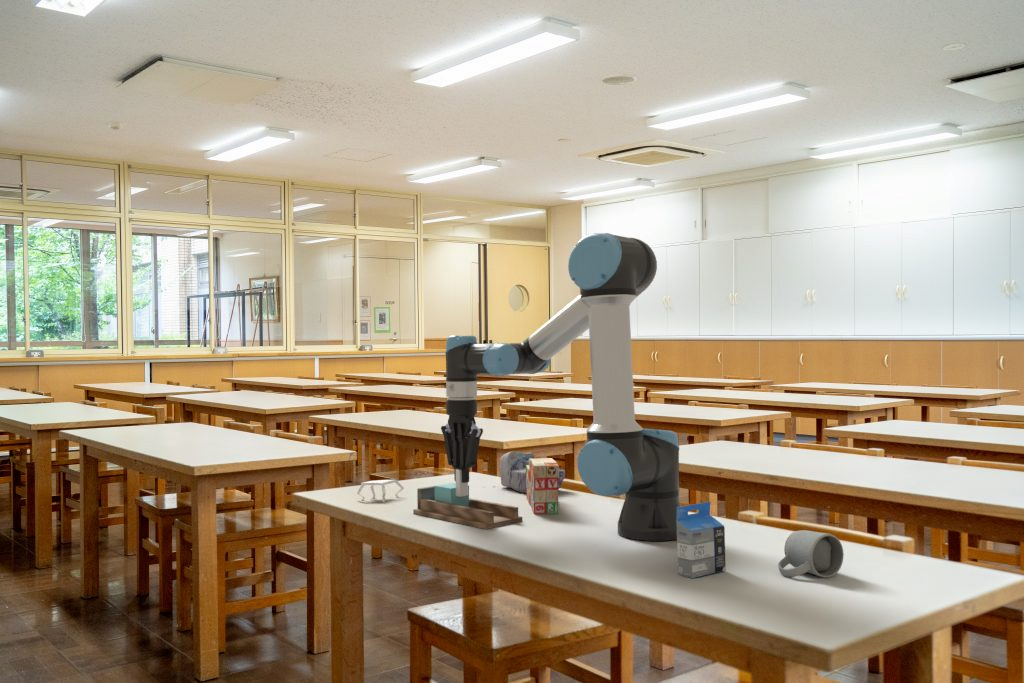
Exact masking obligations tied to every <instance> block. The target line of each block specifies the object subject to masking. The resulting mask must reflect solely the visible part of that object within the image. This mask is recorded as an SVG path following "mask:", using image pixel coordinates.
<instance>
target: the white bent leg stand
mask: <svg viewBox="0 0 1024 683" xmlns="http://www.w3.org/2000/svg"><path fill="white" fill-rule="evenodd" d="M393 483H394V484H396V486H398V487H399V488H400V489H399V490H398V491H397V492H396V493H394V496H395V497H396V498H400V496H398V494H399V493H400V492H402V491H403V490H404V489H405V487H403V485H402V484H401V483H400V482H399V481H398V479H378V480H369V481H364V482H360V487H359V488H358V491H357V492H356V494H357V495H359V497H362V498H361V501H364V500H365V498H366V497H365V496H364V495H362V494H360V493H361V491H362V490H363V488H364V487H365V486H370V491H371V493H372V495H373V496H372V499H375V498H376V493H375V489H374V486H381V492H382V494H381V495H382V503H384V502H385V501H386V487H385V485H390V484H393Z"/></svg>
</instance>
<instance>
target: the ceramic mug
mask: <svg viewBox="0 0 1024 683" xmlns="http://www.w3.org/2000/svg"><path fill="white" fill-rule="evenodd" d="M784 555H785V556H784V557H783V558H782V559H780V561H778V564H777V567H778V570H779V572H780V574H781V576H784V577H787V578H795V577H799V576H803V575H804V574H806V573H807V574H808V573H809V574H812V575H814V576H817V577H820V578H825V579H826V578H827V579H828V578H831V577H834V576H836V574H837V573H838V572H839V571H841V570H840V569H841V568H842V565H843V562H844V556H845V554H844V547H843V545H842V542H841V541H840V539H839V538H838V537H837V536H836V535H834V534H831V533H828V532H827V533H826V532H819V531H812V530H808V529H807V530H804V529H803V530H795V531H794V532H791V533H790V534H789V536H788V537H787V538H786V540H785V544H784ZM788 565H791V566H792V568H789V569H788V568H785V567H787V566H788Z"/></svg>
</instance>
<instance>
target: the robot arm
mask: <svg viewBox="0 0 1024 683" xmlns="http://www.w3.org/2000/svg"><path fill="white" fill-rule="evenodd" d="M567 264H568V265H567V268H568V273H569V278H570V279H571V281H573V283H574V284H575V285H576V286H577V287H578V288H579V292H580V293H579V294H578V296H576V297H575V298H574V299H573V300H571V301H570V302H569V303H568V304H566V305H565V306H564V307H563V308H562V309H561V310H560V311H558V312H557V313H556V314H554V316H552V317H551V318H549V320H547V321H545V323H544V324H542V325H541V326H540V327H538V329H536V330H535V331H534V332H533V333H532V334H531V335H530V336H528V337H526V339H525V340H524V339H523V341H522V342H513V343H509V342H507V343H505V342H495V343H491V342H490V343H488V342H487V343H478V342H477V341H478V340H477V336H475V335H449V336H448V337H447V338H446V343H445V344H446V345H445V351H444V352H445V353H444V354H445V369H446V370H445V372H446V373H445V377H446V378H445V380H446V382H445V383H446V384H445V389H446V390H445V394H446V395H445V398H446V397H447V398H448V399H446V401H445V414H446V415H448V419H447V423H446V424H445V425H441V427H440V430H441V432H442V435H443V440H444V448H445V452H446V458H447V464H448V465H449V466H452V467H453V470H454V474H453V475H454V478H453V479H454V482H455V483H456V496H458V497H461V496H467V495H468V485H469V482H470V470H471V469H472V468H474V467H476V466H477V459H478V453H479V447H480V441H481V437H482V435H483V434H484V429H483V428H479V427H478V426H477V424H476V419H475V416H476V415H477V414H478V401H477V399H476V398H477V397H478V381H477V380H478V375H480V376H482V375H483V376H495V377H503V376H509V375H535V374H538V373H542V372H544V371H546V370H547V369H548V368H549V365H550V363H551V360H552V359H553V357H554V356H556V355H558V353H560V352H561V351H562V350H564V349H565V348H566V347H567V346H569V344H572V342H574V341H575V340H576V339H578V338H579V337H580V336H582V335H583V334H584V333H585V332H586V331H588V330H589V336H588V337H589V354H590V375H591V394H592V395H591V396H592V397H591V400H592V416H593V417H592V418H593V422H592V423H591V424H590V425H589V427H587V428H586V443H585V444H584V445H583V446H582V447H581V449H580V450H579V452H578V454H577V459H576V460H577V461H576V463H577V464H576V466H577V472H578V474H579V476H580V479H581V481H582V483H583V484H584V485H585V486H586V487H587V489H589V490H590V492H592V493H594V494H596V495H597V496H600V497H601V496H602V497H619V496H623V495H625V497H624V502H623V503H622V504H623V505H622V507H621V511H620V514H619V518H618V520H617V534H618V535H619V536H621V537H624V538H626V539H627V538H628V539H631V540H637V541H651V542H652V541H653V542H654V541H655V542H656V541H657V542H660V541H661V542H663V541H664V542H665V541H675V540H676V541H677V524H676V520H677V507H681V506H682V504H681V502H680V492H679V491H680V464H679V463H680V446H679V437H678V434H677V432H675V431H673V430H666V429H665V430H664V429H654V428H643V427H642V426H641V425H640V424H639V423H637V421H636V417H635V416H636V415H635V396H634V392H635V391H634V378H633V376H634V375H633V356H632V335H631V334H632V333H631V316H630V315H631V313H630V311H631V310H630V305H631V304H632V302H634V300H635V299H636V298H638V296H640V295H641V294H642V293H643V292H644V291H646V290H647V289H648V288H649V287H650V285H652V283H653V281H654V279H655V277H656V274H657V271H658V270H657V269H658V261H657V257H656V254H655V252H654V251H653V249H652V248H651V246H650V245H648V243H646V242H645V241H643V240H642V239H640V238H639V239H638V238H636V237H635V238H634V237H628V236H627V237H626V236H621V235H616V234H612V233H608V232H605V233H604V232H603V233H600V232H599V233H597V232H596V233H590V234H588V235H586V236H583V237H581V239H579V241H577V243H576V245H574V246H573V248H572V250H571V251H570V254H569V258H568V263H567Z"/></svg>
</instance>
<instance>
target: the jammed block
mask: <svg viewBox="0 0 1024 683" xmlns="http://www.w3.org/2000/svg"><path fill="white" fill-rule="evenodd" d="M434 486H435V501H439V502H444V503H450V504H455V505H460V506H465V507H469V498H470V485H469V484H468V495H467V496H461V497H458V496H456V482H449V483H444V484H437V485H434Z"/></svg>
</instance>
